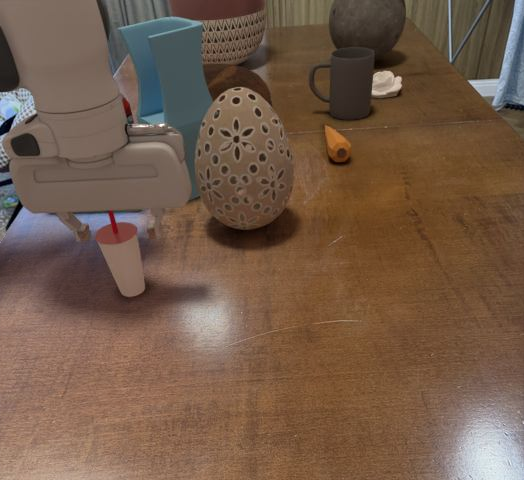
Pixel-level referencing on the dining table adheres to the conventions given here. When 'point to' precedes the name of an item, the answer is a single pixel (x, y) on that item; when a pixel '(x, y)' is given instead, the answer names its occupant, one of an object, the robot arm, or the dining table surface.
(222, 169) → the ornament
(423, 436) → the dining table surface
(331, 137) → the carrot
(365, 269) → the dining table surface
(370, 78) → the mug
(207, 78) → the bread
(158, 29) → the vase
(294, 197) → the dining table surface
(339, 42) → the decorative sphere
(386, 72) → the rose
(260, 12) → the planter
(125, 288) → the cup
